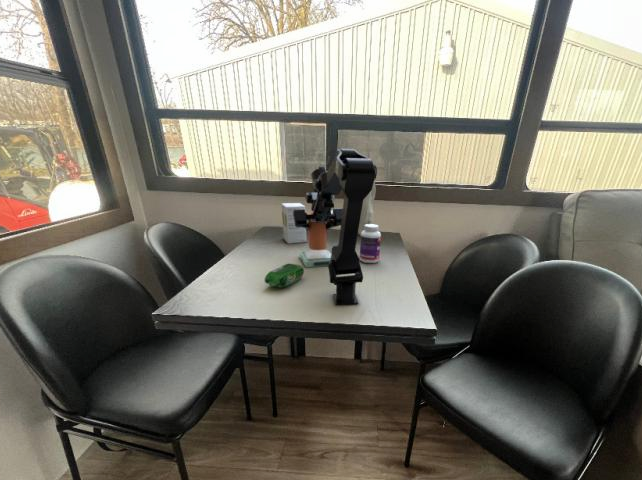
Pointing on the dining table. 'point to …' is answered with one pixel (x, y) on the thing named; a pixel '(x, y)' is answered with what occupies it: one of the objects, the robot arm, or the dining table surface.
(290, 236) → the supplement box
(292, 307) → the dining table surface
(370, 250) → the pill bottle
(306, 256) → the scale
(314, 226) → the jar
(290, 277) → the snack package
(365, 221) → the vase
